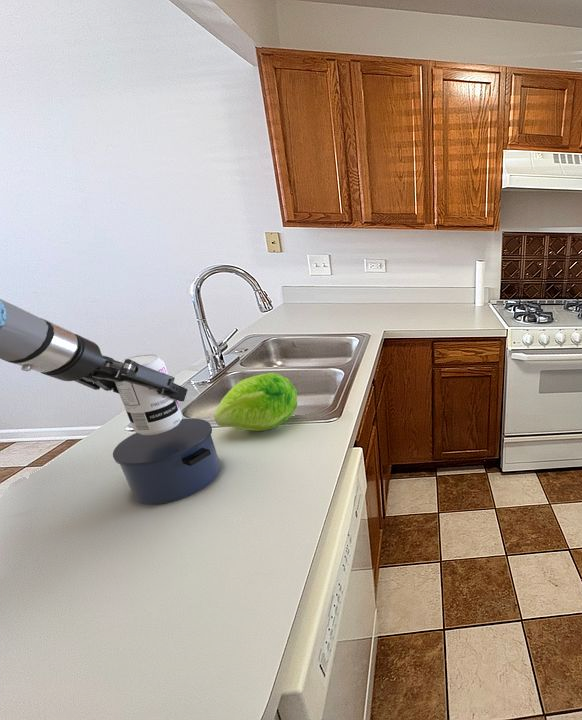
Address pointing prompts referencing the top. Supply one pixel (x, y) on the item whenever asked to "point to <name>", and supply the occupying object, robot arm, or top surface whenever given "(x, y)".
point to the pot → (169, 462)
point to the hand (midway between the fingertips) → (163, 395)
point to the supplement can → (148, 401)
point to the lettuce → (257, 403)
